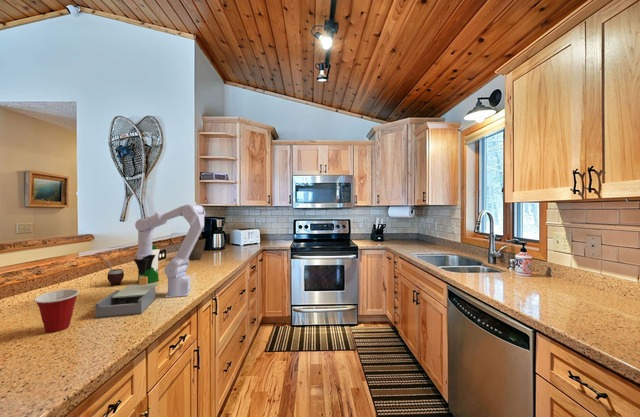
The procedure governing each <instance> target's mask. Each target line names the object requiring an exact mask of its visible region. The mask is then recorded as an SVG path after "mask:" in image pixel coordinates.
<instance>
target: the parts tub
mask: <svg viewBox="0 0 640 417" xmlns="http://www.w3.org/2000/svg"><path fill="white" fill-rule="evenodd" d="M120 291H121V290H120V289H116V290H114V291H113V292H111V293H110V294H108V295H107V296H105V297H104V298H102V299H100V300H99V301H98V302H96V303H95V304H94V312H95V313H94V314H95V316H94V318H95V319H100V318H112V317H124V316H133V315H135V316H136V315H142V314H143V313H144V312H145V311H146V310H147V309H148V308H149V307H150V305H152V303H154V301H156V287H155V288H151V289H150V290H149V291H148V292H147V293H146V294H145V295H144V296H135V297H122V298H112V296H114V295H115V294H117V293H118V292H120Z"/></svg>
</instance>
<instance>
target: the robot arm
mask: <svg viewBox="0 0 640 417" xmlns="http://www.w3.org/2000/svg"><path fill="white" fill-rule="evenodd" d="M205 216H206V211H205V208H204V206H202V205H200V204H185V205H182V206H179V207H177V208H173V209H172V210H169V211H167V212H165V213H162V212H155V213H154V214H153V215H151V216H150V215H149V216H146V218H139V219H138V220H136V221H135V222H134V223H135V224H134V225H135V226H134V227H135V229H136V230H137V231H138V232H137V233H138V234H137V239H138V240H137V243H138V244H137V245H138V246H137V251H138V253H137V252H134V253H135V254H134V255H137V256H136V257H137V258H134V259H133V260H134V264H136V266H137V270H139V274H145V271H146V270H150V269H151V266H152V262H153V259H154V257H155V255H151V254H153V252H152V251H153V250H152V245H153V233H154V229H156V228H158V227H160V226H162V225H165V224H167V222H168V220H172V219H174V218H177V217H183V218H184V219H185V220H186V222H187V223H188V224H189V228H188V230H187V233H186V235H185V237H184V239H183V241H182V242H181V245H180V247H179V249H178V250H177V252H176V255H175V256H173V258H171V260H170V261H169V263H167V264H166V265H165V267H164V268H163V269H164V271H163V272H164V275H166V277H167V278H166V279H167V293H166V295H165V296H164V298H174V297H175V298H177V297H187V296H188V295H189V294H190V292H191V275H189V274H187V275H186V272H187V271H188V269H189V263H190V258H189V256H190V254H191V252H192V250H193V248H194V246H195V244H196V242H197V240H198V239H200V238H199V237H200V236H201V233H202V232H203V231H204V230H203V229H204V228H205Z"/></svg>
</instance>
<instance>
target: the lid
mask: <svg viewBox="0 0 640 417" xmlns="http://www.w3.org/2000/svg"><path fill="white" fill-rule="evenodd" d="M147 278H148V277H139V283H137V284H129V285H127V286H125V287H124V288H123V289H121V290H120V292H118V293H117V294H115V295H114V296H112V298H122V297H135V296H144V295H145V294H146V293H147V292H148V291H149V290H150V289H151V288H155V289H156V287H157V286H158V285H159V282H154V283H150V284H147Z"/></svg>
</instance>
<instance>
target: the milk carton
mask: <svg viewBox="0 0 640 417" xmlns="http://www.w3.org/2000/svg"><path fill="white" fill-rule="evenodd" d="M152 250H153V251H152V252H153V254H151V255H155V257H154V259H153V262H152V266H151V269H150V270H146V271H145V274H139V270H138V269H137V270H138V271H137V272H138V273H137V274H138V275H137V284H139V277H148V278H147V284H153V283H158V282H159V255H160V251H161V250H160V249H159V248H157V245H156V244H154V245H153V244H152ZM136 251H137V252H136V253H138V250H136Z"/></svg>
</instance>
